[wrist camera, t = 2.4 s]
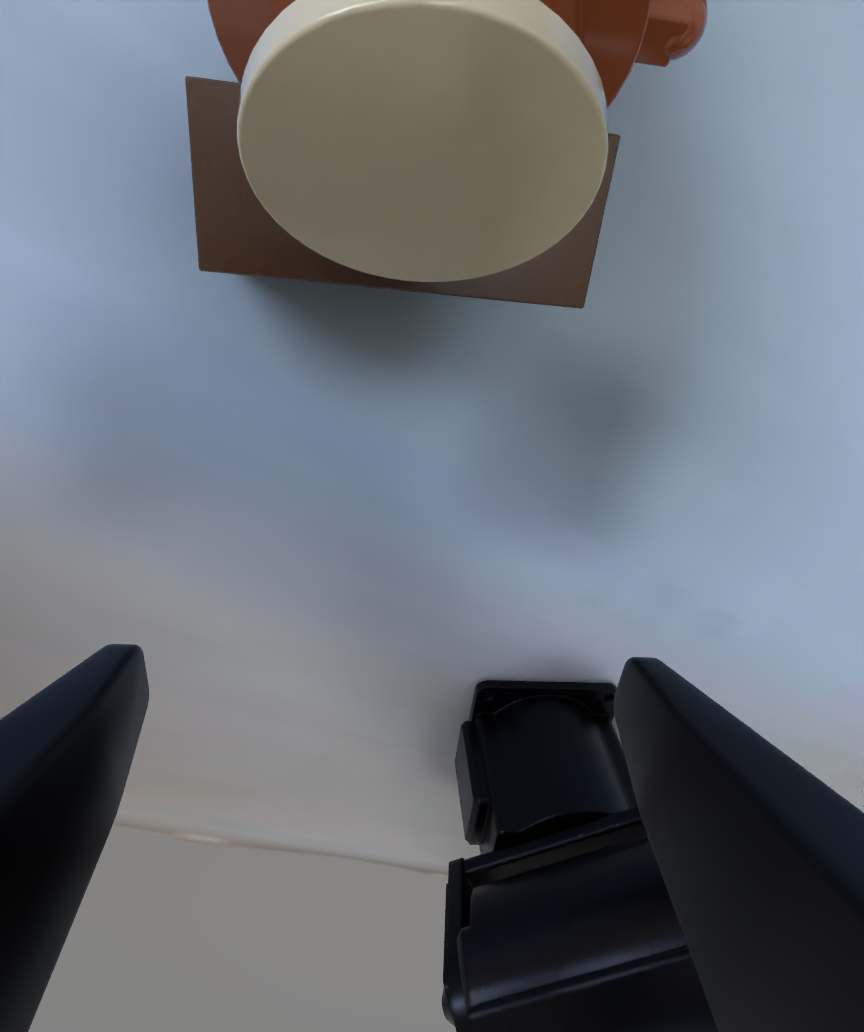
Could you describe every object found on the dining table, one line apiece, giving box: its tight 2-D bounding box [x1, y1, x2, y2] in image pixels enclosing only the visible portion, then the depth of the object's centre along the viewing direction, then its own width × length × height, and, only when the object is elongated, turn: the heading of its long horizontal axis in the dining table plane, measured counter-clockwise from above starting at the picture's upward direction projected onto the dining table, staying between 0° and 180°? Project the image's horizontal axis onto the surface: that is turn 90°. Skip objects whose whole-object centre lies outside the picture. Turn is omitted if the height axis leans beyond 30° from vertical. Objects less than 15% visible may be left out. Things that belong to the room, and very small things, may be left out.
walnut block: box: [185, 76, 620, 308], centre depth 16 cm, size 10×4×3 cm, turn 84°
